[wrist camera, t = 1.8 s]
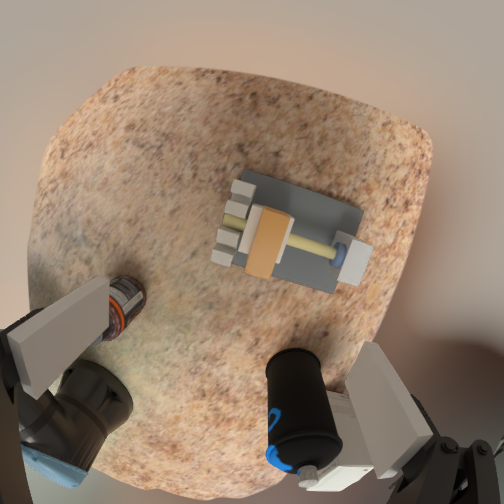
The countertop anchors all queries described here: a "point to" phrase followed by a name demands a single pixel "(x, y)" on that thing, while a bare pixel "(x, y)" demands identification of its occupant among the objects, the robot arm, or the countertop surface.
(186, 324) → the countertop surface
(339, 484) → the skincare box
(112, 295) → the supplement bottle
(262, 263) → the sleeve
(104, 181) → the countertop surface
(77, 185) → the countertop surface
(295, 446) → the aerosol can
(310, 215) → the cord board
